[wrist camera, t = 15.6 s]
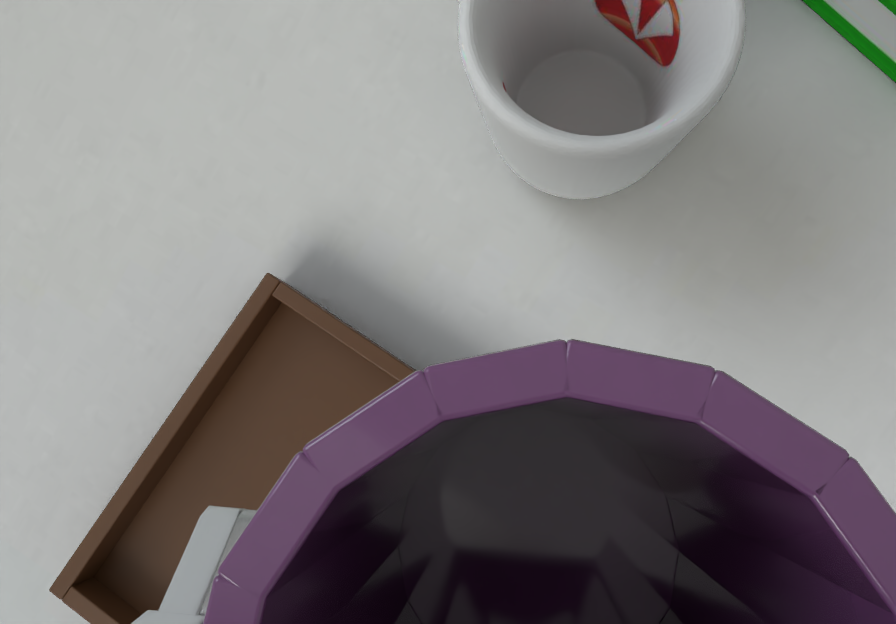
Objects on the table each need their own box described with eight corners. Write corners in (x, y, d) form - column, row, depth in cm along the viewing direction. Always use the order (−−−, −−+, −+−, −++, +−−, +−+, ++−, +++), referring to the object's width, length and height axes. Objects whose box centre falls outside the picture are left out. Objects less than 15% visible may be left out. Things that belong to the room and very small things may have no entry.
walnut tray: (679, 547, 27) (692, 557, 25) (469, 880, 27) (465, 917, 25) (283, 281, 30) (266, 271, 28) (79, 578, 29) (47, 590, 27)
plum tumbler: (756, 502, 16) (1154, 645, 6) (582, 776, 16) (706, 1408, 6) (492, 328, 17) (463, 204, 7) (321, 582, 16) (32, 836, 7)
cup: (378, 76, 31) (331, -43, 23) (525, -65, 31) (528, -231, 23) (578, 269, 29) (602, 214, 21) (731, 119, 29) (812, 9, 21)
